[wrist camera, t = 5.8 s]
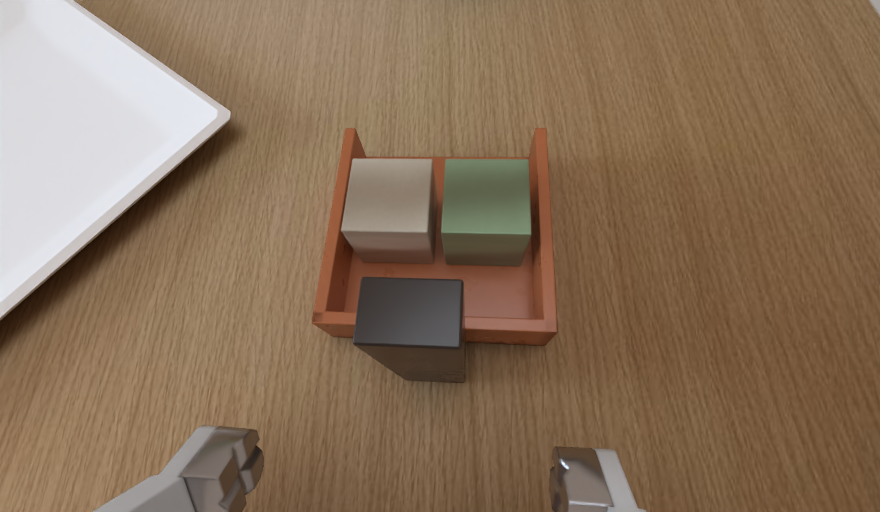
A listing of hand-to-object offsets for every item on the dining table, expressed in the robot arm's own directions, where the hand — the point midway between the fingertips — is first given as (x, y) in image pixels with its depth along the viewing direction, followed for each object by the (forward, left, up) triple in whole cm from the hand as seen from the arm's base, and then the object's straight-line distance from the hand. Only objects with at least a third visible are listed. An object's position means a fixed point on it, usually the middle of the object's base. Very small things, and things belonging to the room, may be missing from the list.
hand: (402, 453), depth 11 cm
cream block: (-1, -11, -8) cm, 14 cm away
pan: (-3, -10, -9) cm, 13 cm away
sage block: (-6, -9, -8) cm, 14 cm away
